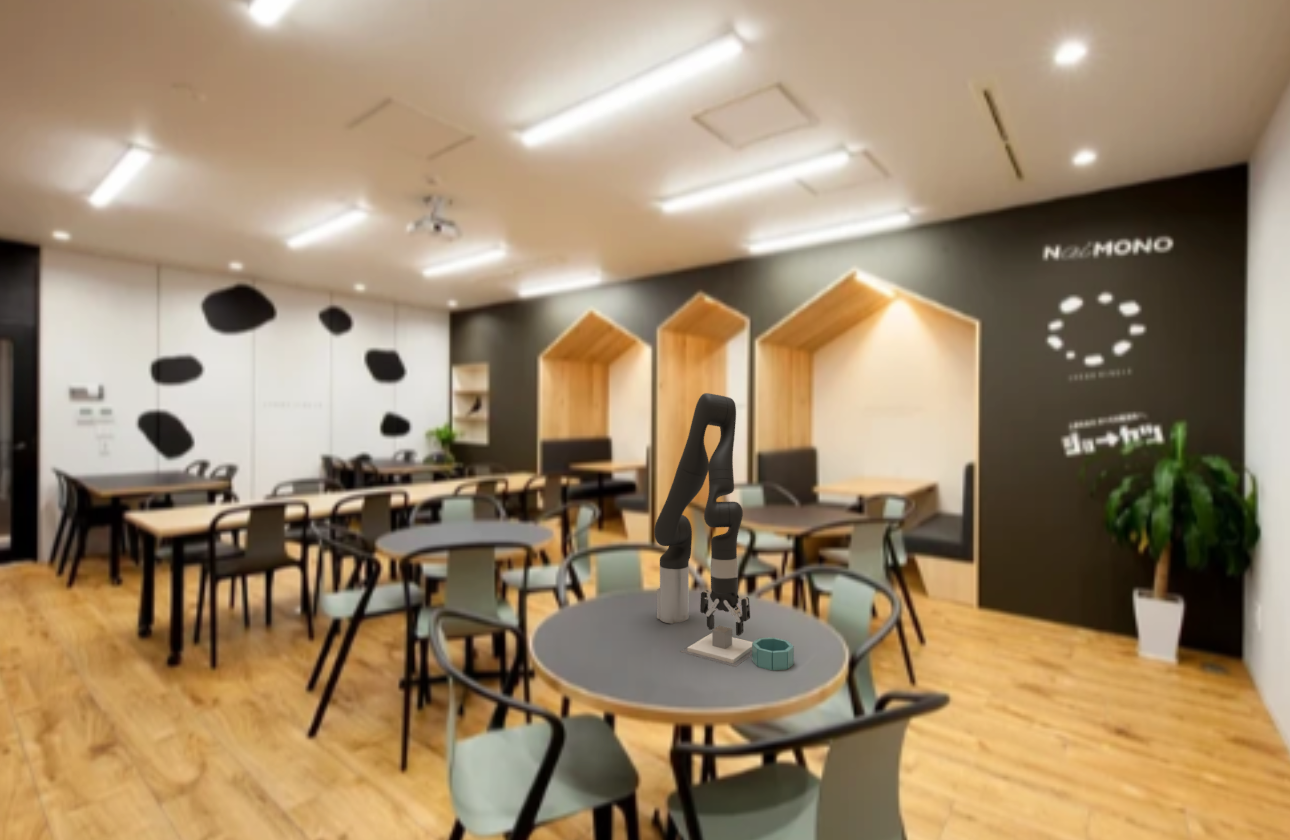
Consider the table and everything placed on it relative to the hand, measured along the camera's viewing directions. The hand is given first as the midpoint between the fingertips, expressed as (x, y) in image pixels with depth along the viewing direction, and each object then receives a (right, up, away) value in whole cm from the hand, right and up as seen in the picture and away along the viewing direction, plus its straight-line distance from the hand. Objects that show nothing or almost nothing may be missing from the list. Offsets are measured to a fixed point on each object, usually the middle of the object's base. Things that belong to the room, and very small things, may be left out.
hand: (725, 632), depth 169 cm
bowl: (+11, -5, -9) cm, 15 cm away
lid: (-1, -5, 0) cm, 5 cm away
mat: (-1, -5, 0) cm, 5 cm away
